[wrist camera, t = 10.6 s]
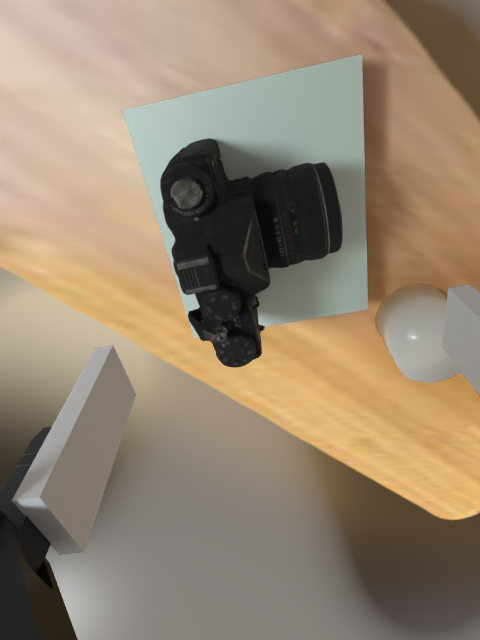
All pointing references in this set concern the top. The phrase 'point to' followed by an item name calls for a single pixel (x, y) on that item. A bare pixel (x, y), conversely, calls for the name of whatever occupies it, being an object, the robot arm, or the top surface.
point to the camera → (242, 238)
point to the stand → (269, 156)
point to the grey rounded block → (416, 332)
